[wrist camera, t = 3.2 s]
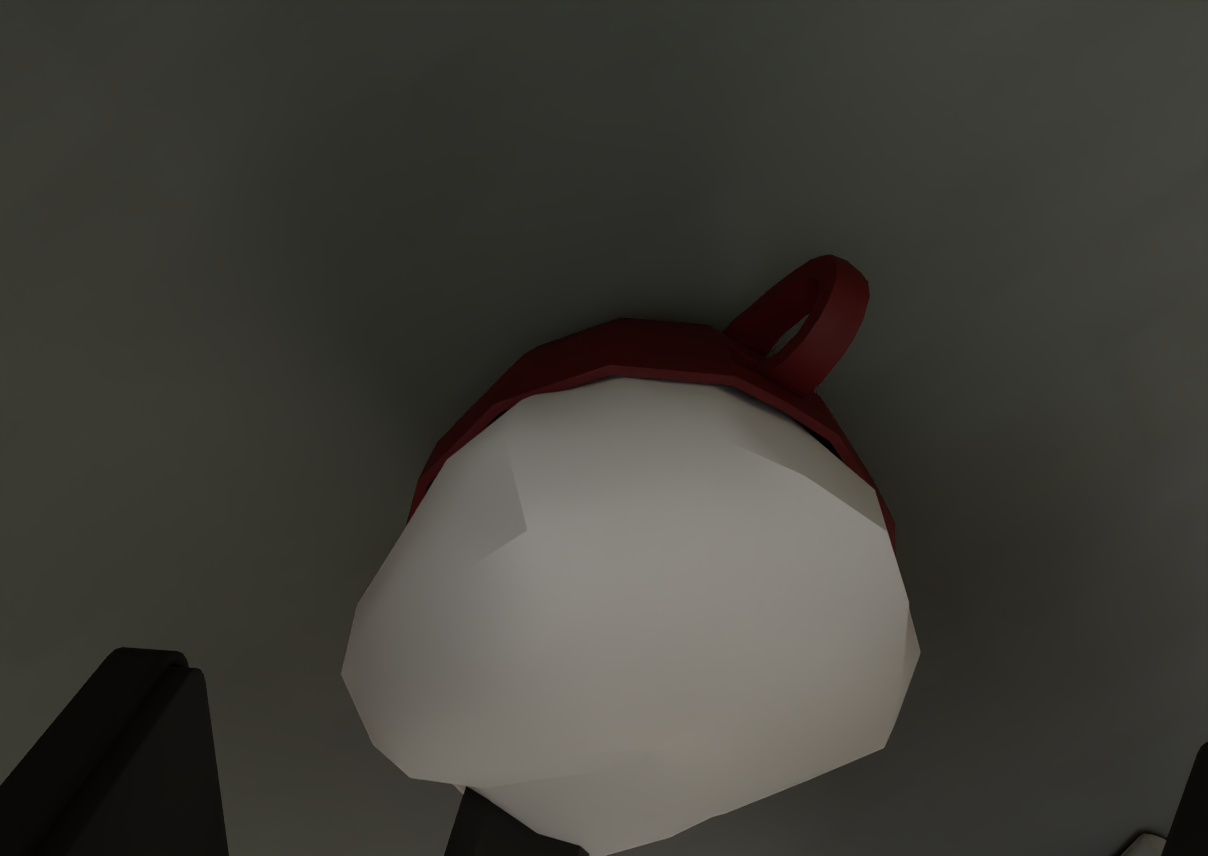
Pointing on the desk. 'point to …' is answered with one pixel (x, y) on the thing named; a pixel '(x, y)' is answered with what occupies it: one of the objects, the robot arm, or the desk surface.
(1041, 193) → the desk surface
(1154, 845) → the cosmetic box
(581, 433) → the cocoa
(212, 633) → the desk surface
